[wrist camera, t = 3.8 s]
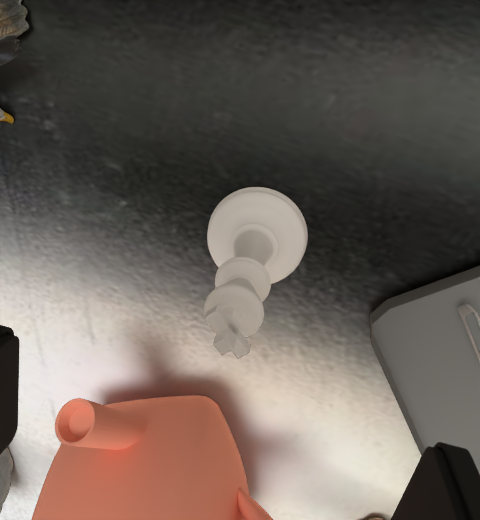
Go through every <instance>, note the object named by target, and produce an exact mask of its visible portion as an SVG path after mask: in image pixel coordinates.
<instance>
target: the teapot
mask: <svg viewBox="0 0 480 520" xmlns="http://www.w3.org/2000/svg"><path fill="white" fill-rule="evenodd" d="M55 431H56V435H57V437H58V439H59V440H60V441H61V442H62V444H61V446H60V448H59V450H58V452H57V454H56V456H55V457H54V460H53V462H52V464H51V467H50V469H49V471H48V474H47V476H46V479H45V482H44V484H43V487H42V490H41V493H40V496H39V499H38V502H37V505H36V508H35V510H34V513H33V517H32V520H273V519H272V518H271V517H270V516H269V514H268V513H267V512H266V511H265V510H264V509H263V508H262V507H261V506H260V505H259V504H258V503H257V502H256V501H255V500H254V499H252V498H251V497H250V494H249V488H248V483H247V478H246V474H245V470H244V466H243V463H242V460H241V456H240V453H239V450H238V448H237V445H236V443H235V440H234V438H233V435H232V433H231V431H230V429H229V426H228V424H227V422H226V420H225V418H224V416H223V414H222V412H221V409H220V407H219V405H218V404H217V403H216V402H215V401H213V400H212V399H211V398H209V397H207V396H200V395H191V396H172V397H159V398H148V399H140V400H132V401H125V402H118V403H112V404H107V405H101V404H98V403H95V402H91V401H88V400H85V399H81V398H78V399H73V400H71V401H69V402H67V403H66V404H65V405H64V406H63V407H62V408H61V410H60V411H59V413H58V415H57V418H56V423H55Z"/></svg>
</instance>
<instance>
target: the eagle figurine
mask: <svg viewBox="0 0 480 520" xmlns="http://www.w3.org/2000/svg"><path fill="white" fill-rule="evenodd" d="M21 1H22V0H0V66H1V65H3V64H5V63H7V62H9V61H11V60H12V59H14V58H15V57H17V56H18V55H19V54H20V52H21V48H20V47H18V46H19V44H20V40H18V39H16V38H17V36H19V35H21V34H22V33H23V32H25V31H27V30H28V29H29V25H28V23H27V21H25V18H26V15H27V9H26V8H25V7H24V6H23V5H21ZM0 121H7V122H9V123H11V124H12V123H13V122H14V119H13V117H12V116H11V115H9V114H7V113H6V112H4V111H3V110H2V109H1V108H0Z"/></svg>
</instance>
